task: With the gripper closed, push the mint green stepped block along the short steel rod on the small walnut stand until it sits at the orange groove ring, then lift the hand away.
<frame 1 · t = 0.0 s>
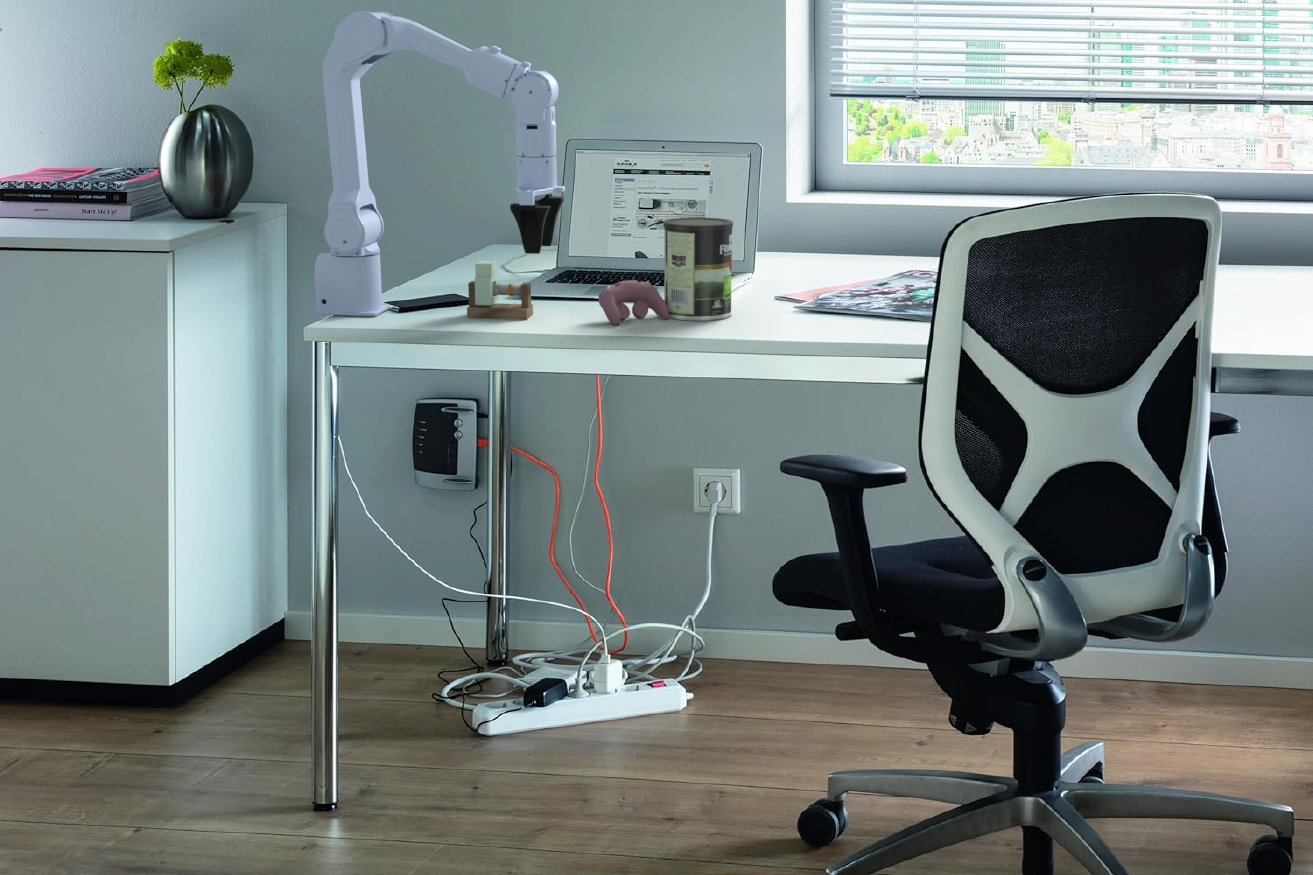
hand: (538, 249, 228), 10 cm above the table, tool pointing down, fingers open, 7 cm apart
coffee can: (697, 316, 233), on the table
rod stand: (500, 316, 232), on the table
mint green stepped block: (486, 282, 231), point 5 cm above the table, slide at 0.0 cm
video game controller: (633, 322, 229), on the table
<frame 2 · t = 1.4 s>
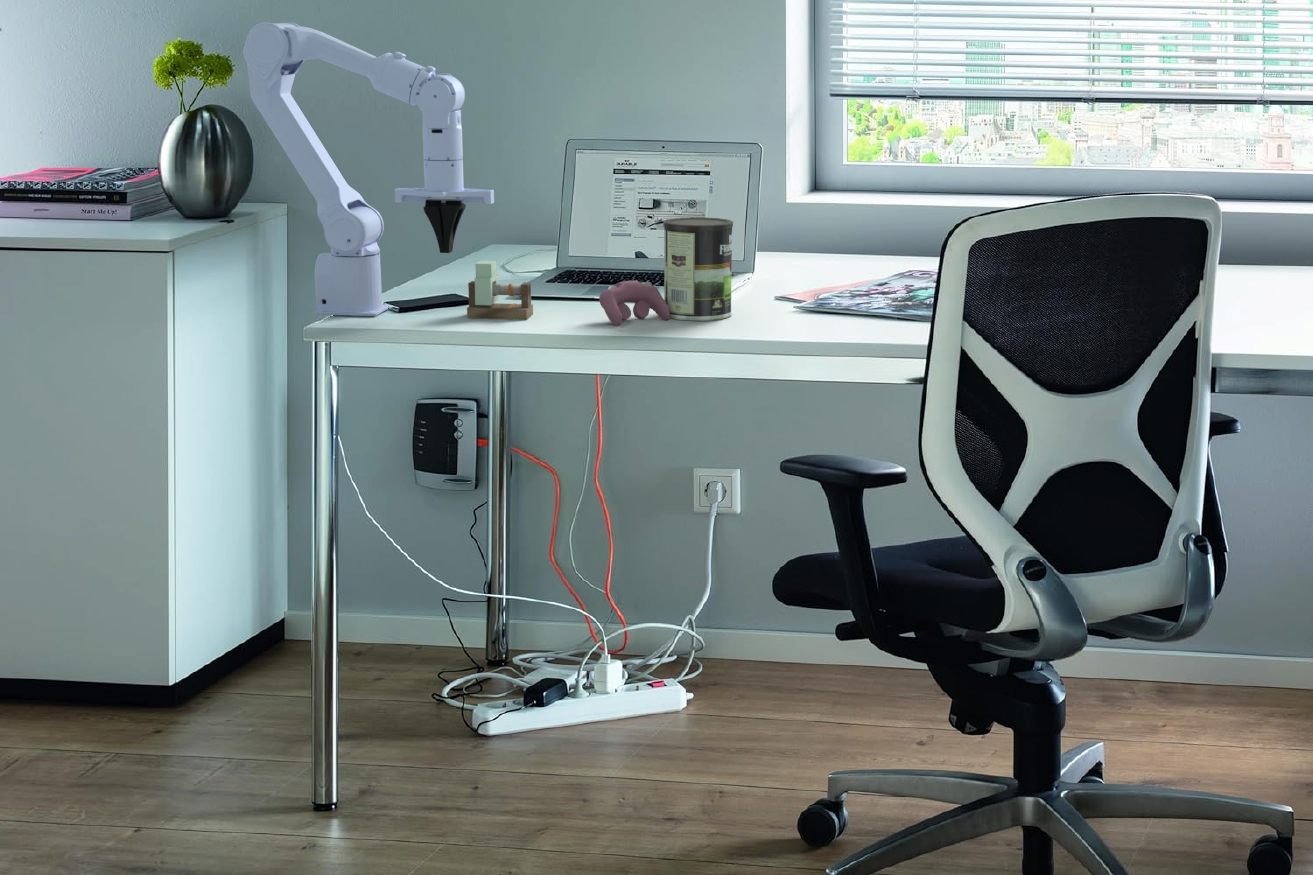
hand: (446, 252, 230), 9 cm above the table, tool pointing down, fingers closed
nothing on the table moved.
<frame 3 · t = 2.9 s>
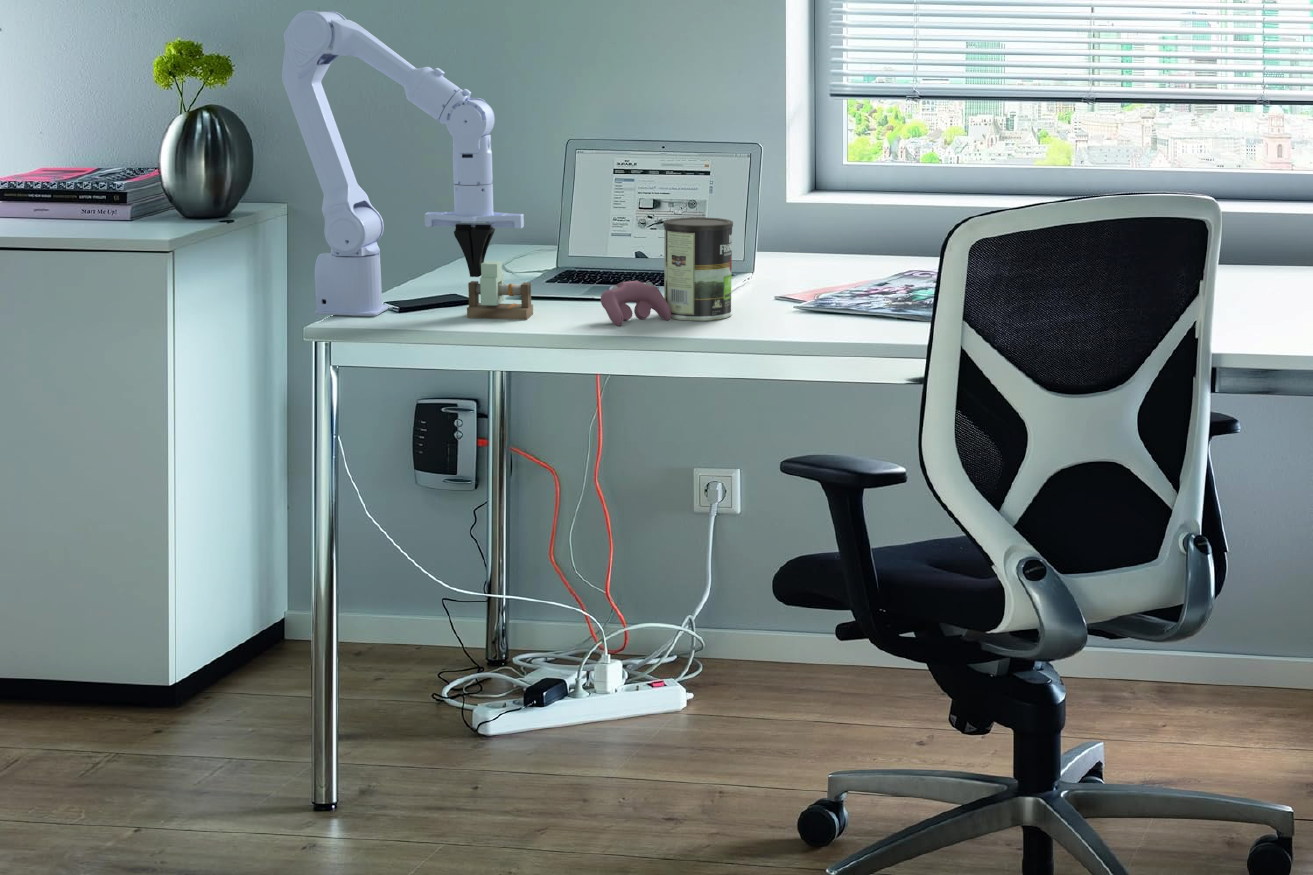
hand: (475, 276, 231), 6 cm above the table, tool pointing down, fingers closed
mint green stepped block: (491, 282, 231), point 5 cm above the table, slide at 0.9 cm, touching gripper
everything else where it was.
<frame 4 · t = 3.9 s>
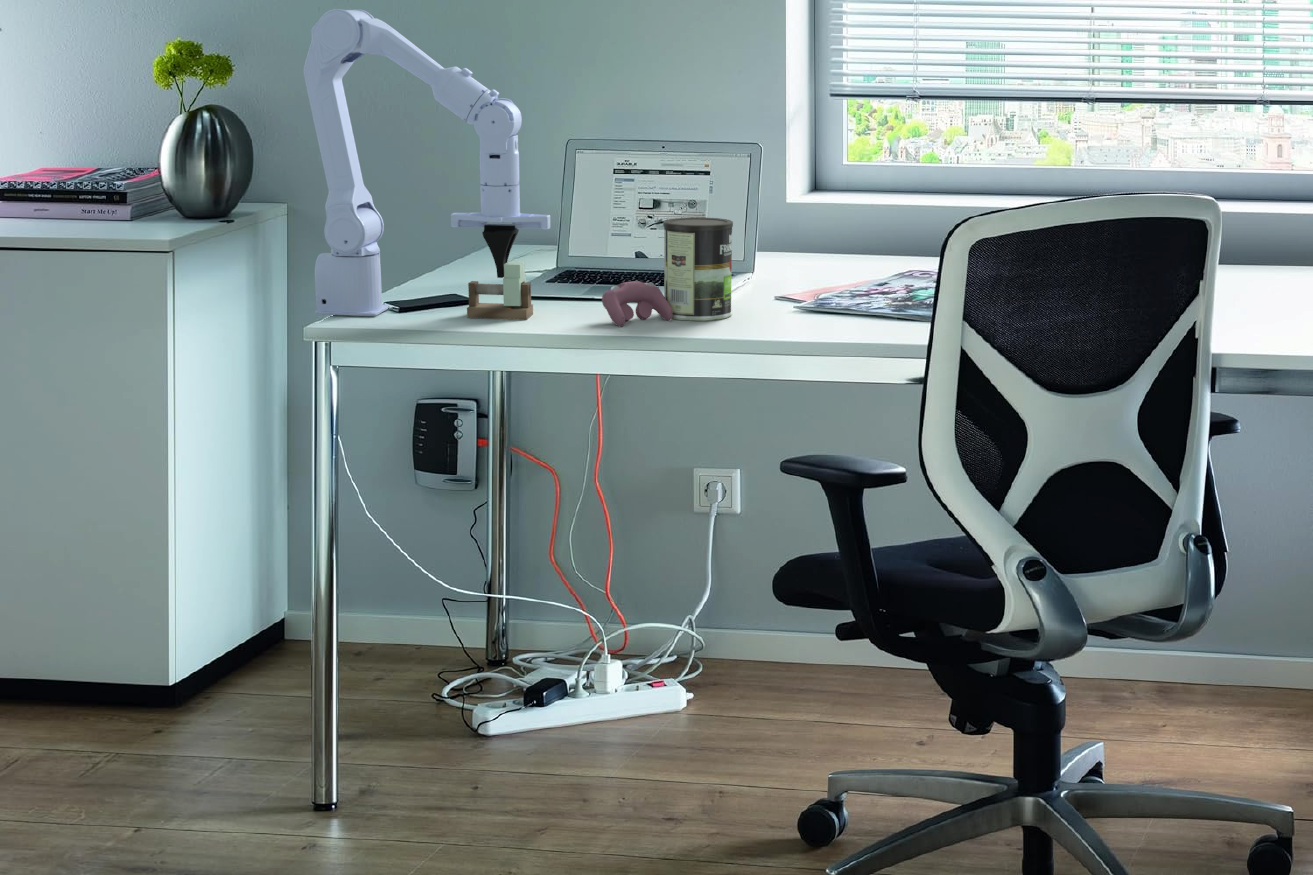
hand: (501, 276, 230), 6 cm above the table, tool pointing down, fingers closed
mint green stepped block: (514, 283, 230), point 5 cm above the table, slide at 4.3 cm, touching gripper, rod stand
everything else where it was.
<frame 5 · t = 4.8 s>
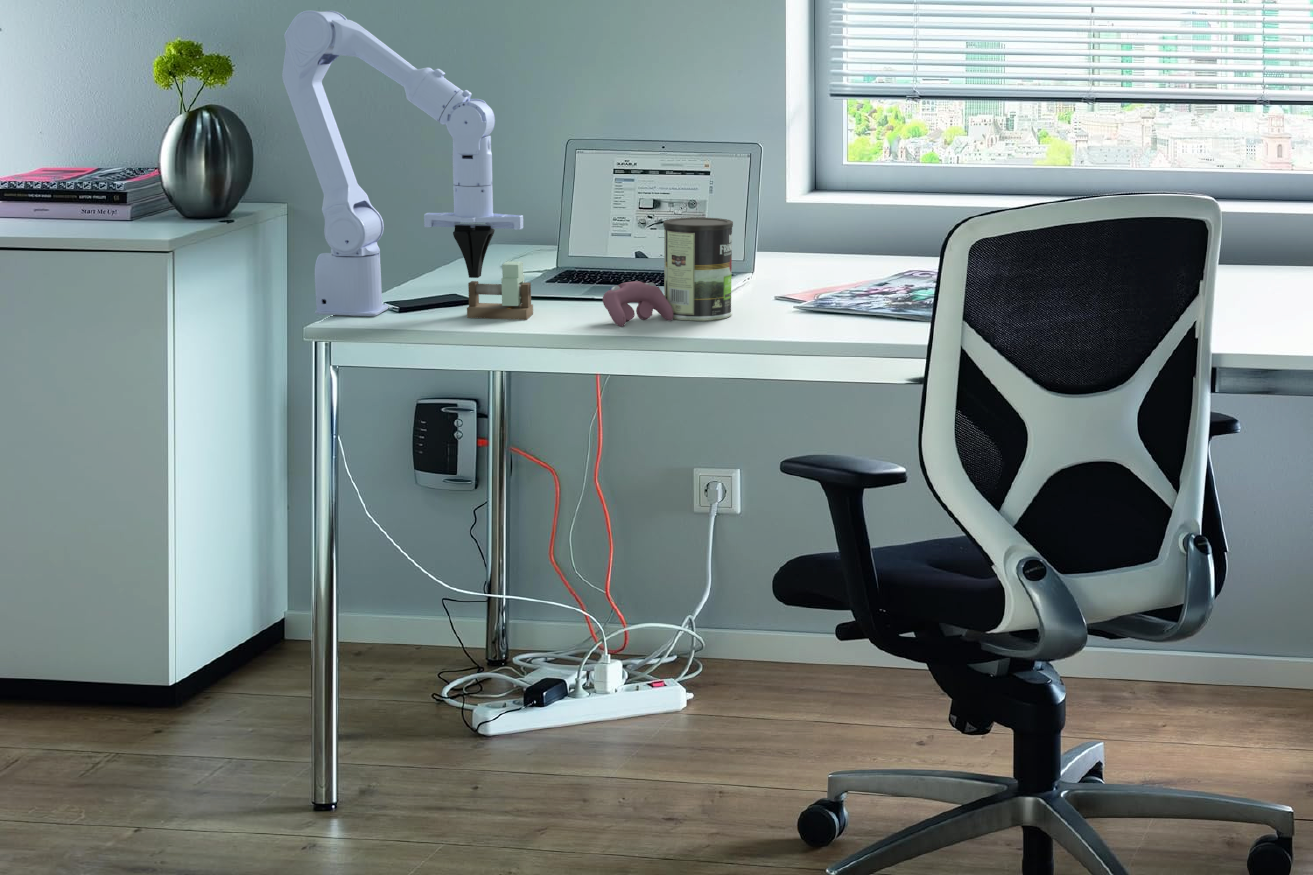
hand: (474, 276, 231), 6 cm above the table, tool pointing down, fingers closed
mint green stepped block: (513, 283, 230), point 5 cm above the table, slide at 4.1 cm
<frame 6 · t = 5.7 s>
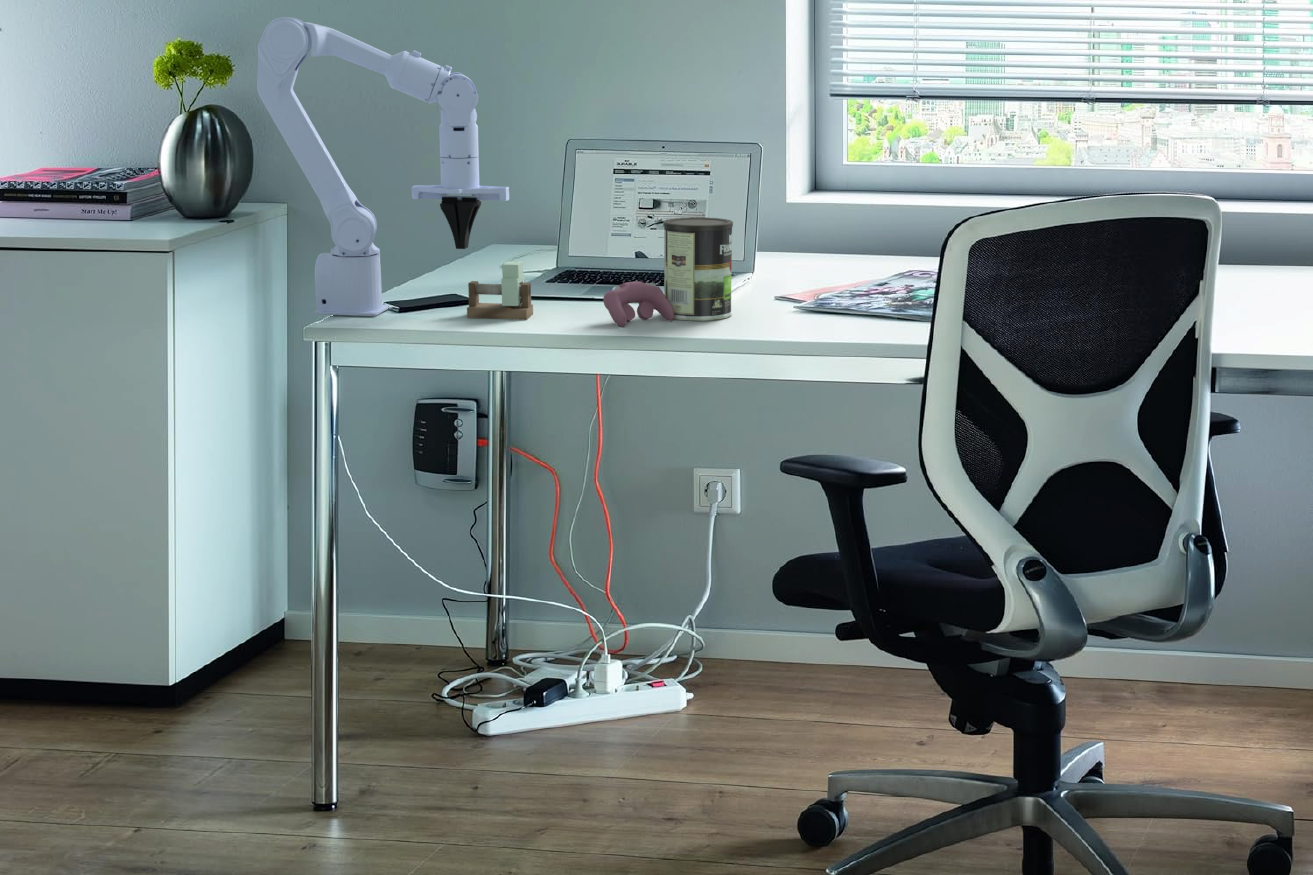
hand: (462, 248, 234), 9 cm above the table, tool pointing down, fingers closed
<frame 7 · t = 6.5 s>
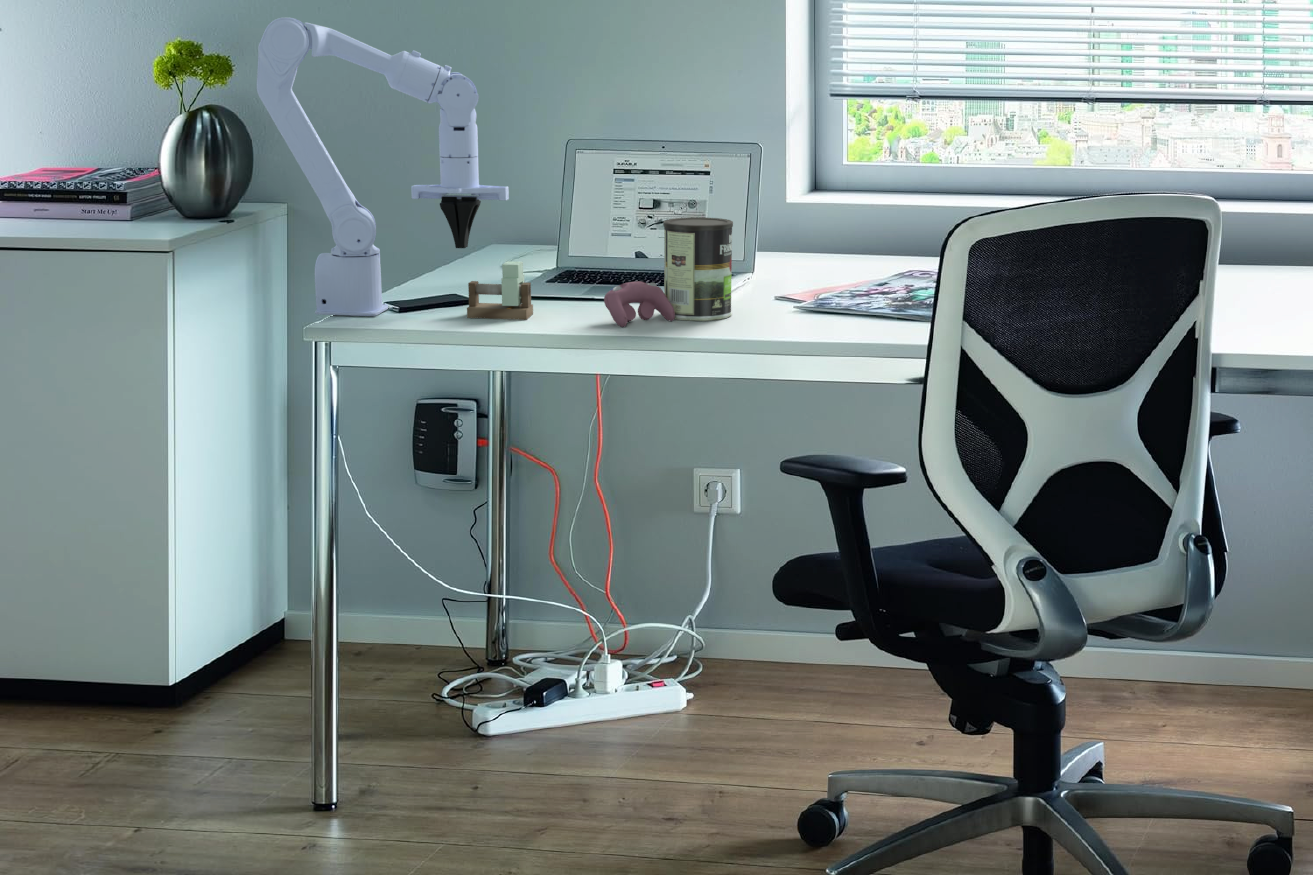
hand: (461, 247, 235), 9 cm above the table, tool pointing down, fingers closed
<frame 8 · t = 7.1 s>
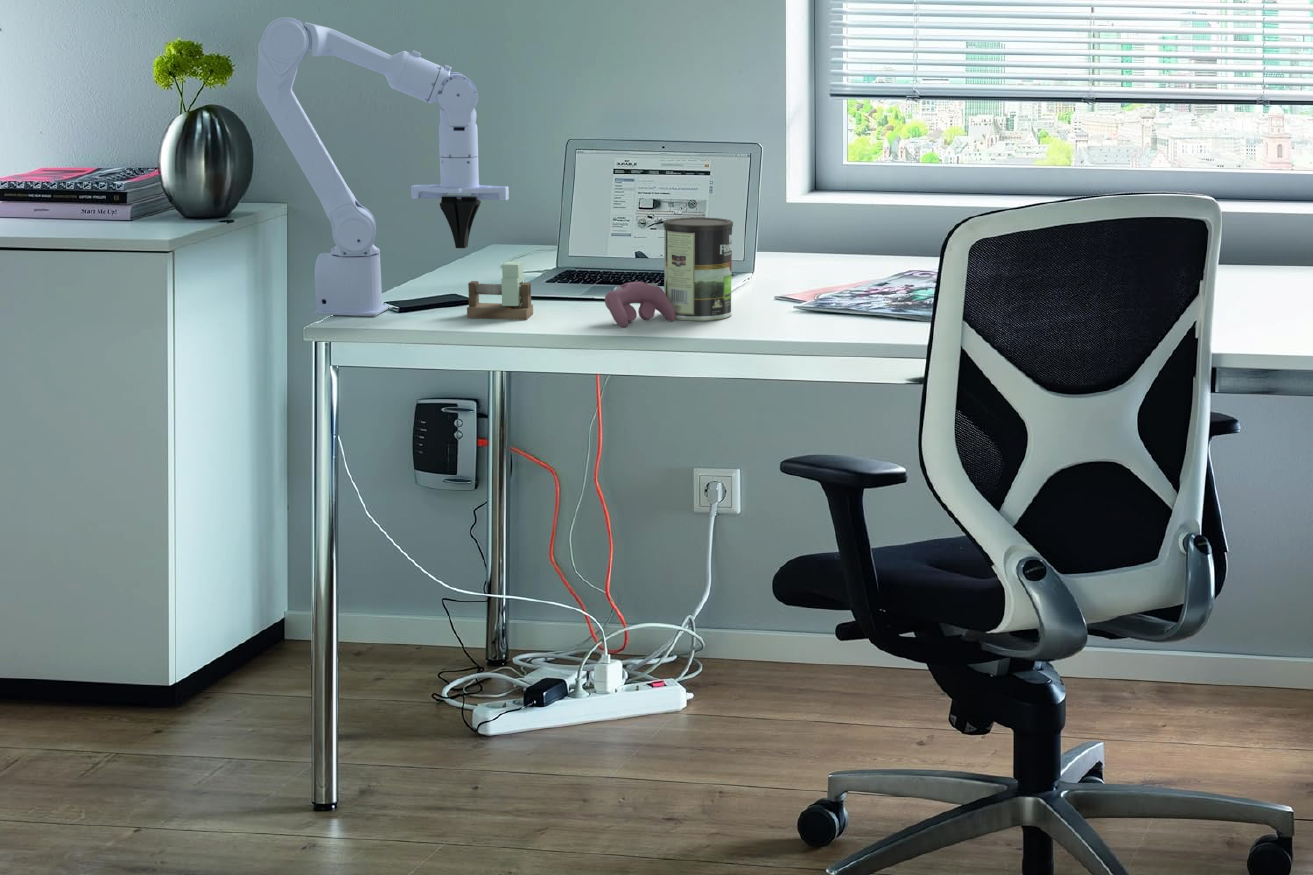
hand: (461, 247, 235), 9 cm above the table, tool pointing down, fingers closed
at the end: mint green stepped block slide at 4.1 cm; mint green stepped block 0.4 cm from the target spot, resting on rod stand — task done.
